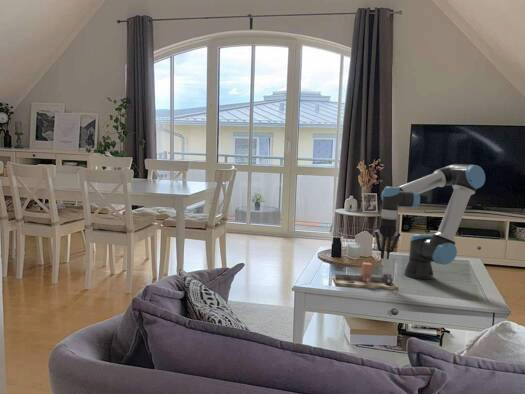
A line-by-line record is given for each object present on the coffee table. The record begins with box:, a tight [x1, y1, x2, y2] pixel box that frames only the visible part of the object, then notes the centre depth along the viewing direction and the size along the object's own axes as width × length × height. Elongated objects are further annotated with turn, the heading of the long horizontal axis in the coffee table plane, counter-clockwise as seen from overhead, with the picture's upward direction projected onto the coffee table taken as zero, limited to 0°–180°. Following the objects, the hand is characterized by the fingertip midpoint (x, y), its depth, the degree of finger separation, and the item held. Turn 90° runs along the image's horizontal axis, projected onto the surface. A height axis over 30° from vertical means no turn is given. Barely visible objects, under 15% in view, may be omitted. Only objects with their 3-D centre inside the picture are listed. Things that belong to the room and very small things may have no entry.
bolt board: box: [331, 276, 399, 291], centre depth 238 cm, size 30×12×1 cm, turn 89°
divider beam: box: [334, 272, 394, 284], centre depth 238 cm, size 28×7×6 cm, turn 89°
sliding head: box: [360, 261, 373, 282], centre depth 238 cm, size 4×8×8 cm, turn 179°
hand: (383, 265), depth 240 cm, fingers closed
